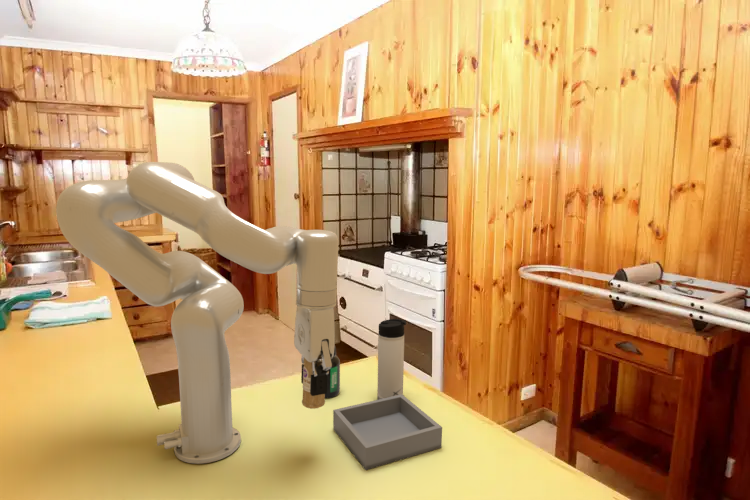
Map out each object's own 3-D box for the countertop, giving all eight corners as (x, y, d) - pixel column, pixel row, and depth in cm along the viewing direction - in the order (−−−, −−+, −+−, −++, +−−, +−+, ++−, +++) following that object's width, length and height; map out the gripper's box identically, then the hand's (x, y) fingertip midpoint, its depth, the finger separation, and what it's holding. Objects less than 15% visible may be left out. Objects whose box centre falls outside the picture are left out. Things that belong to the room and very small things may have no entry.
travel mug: (402, 406, 114) (404, 325, 111) (375, 403, 115) (376, 323, 112) (405, 394, 120) (407, 317, 117) (380, 392, 121) (381, 315, 118)
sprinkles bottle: (296, 403, 93) (298, 337, 90) (314, 396, 96) (316, 331, 94) (313, 412, 90) (314, 343, 88) (330, 404, 93) (332, 337, 91)
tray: (365, 470, 89) (366, 448, 89) (333, 429, 103) (333, 409, 103) (441, 447, 97) (442, 427, 96) (401, 412, 111) (402, 394, 110)
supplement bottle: (341, 398, 118) (341, 351, 116) (313, 399, 117) (312, 352, 115) (338, 385, 124) (338, 341, 123) (312, 387, 123) (311, 342, 121)
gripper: (283, 287, 95) (282, 374, 98) (312, 310, 80) (310, 412, 83) (319, 284, 99) (317, 368, 102) (353, 306, 84) (349, 404, 87)
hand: (314, 387), depth 92 cm, fingers closed on sprinkles bottle, 4 cm apart
